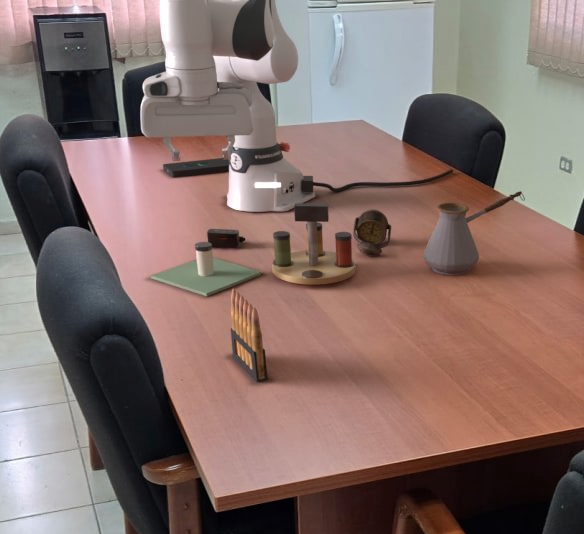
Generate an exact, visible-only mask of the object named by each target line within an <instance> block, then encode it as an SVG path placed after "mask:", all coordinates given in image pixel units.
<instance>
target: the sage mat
mask: <svg viewBox="0 0 584 534" xmlns="http://www.w3.org/2000/svg"><path fill="white" fill-rule="evenodd" d="M213 264H214V274H213V275H211V276H200V275H199V274H198V268H197V259H194V260H191V261H189V262H186V263H183V264H181V265H178V266H174V267H172V268H169V269H166V270H164V271H161V272H157V273H155V274H152V275H150V279H152V280H155V281H157V282H160V283H163V284H166V285H170V286H172V287H175V288H176V287H177V288H180V289H182V290H186V291H188V292H192V293H195V294H197V295H201V296H203V297H209V296H211V295H214V294H217V293H219V292H221V291H224V290H226V289H230V288H232V287H234V286H236V285H239V284H242V283H244V282H247V281H250V280H252V279H255V278H257V277H260V276H262V275H263V271H261V270H257V269H253V268H250V267H247V266H243V265H240V264H237V263H233V262H230V261H227V260H224V259H220V258H217V257H214V256H213Z"/></svg>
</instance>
